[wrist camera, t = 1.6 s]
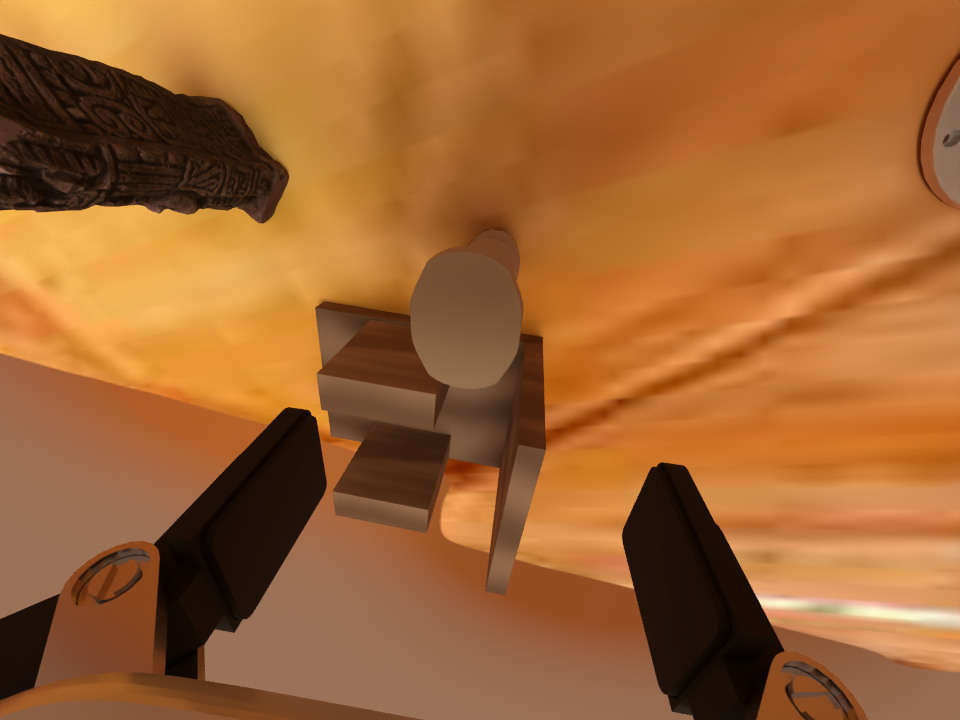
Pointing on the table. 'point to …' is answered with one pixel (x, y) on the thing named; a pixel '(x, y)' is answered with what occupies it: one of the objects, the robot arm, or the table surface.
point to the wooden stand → (427, 427)
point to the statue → (121, 141)
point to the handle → (469, 311)
